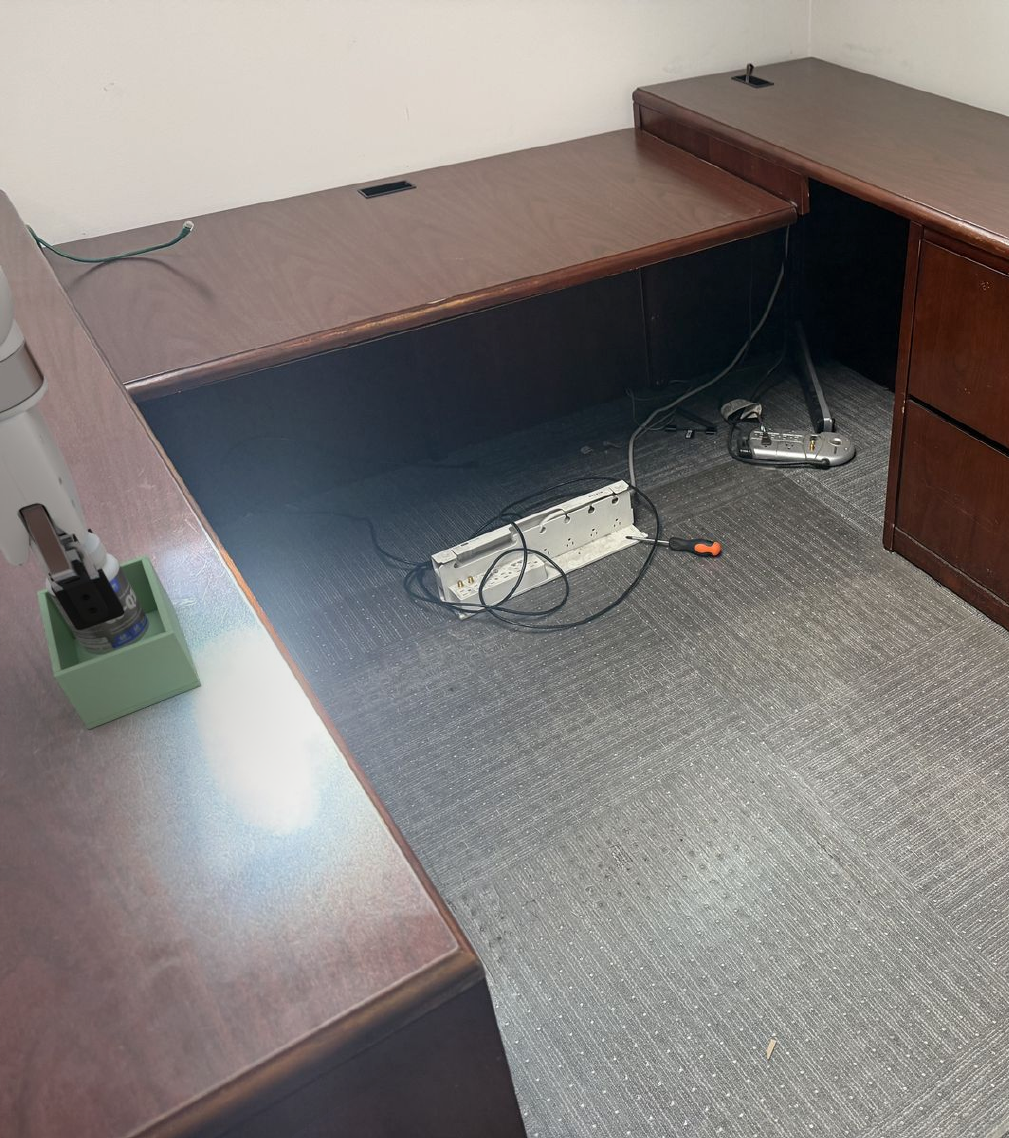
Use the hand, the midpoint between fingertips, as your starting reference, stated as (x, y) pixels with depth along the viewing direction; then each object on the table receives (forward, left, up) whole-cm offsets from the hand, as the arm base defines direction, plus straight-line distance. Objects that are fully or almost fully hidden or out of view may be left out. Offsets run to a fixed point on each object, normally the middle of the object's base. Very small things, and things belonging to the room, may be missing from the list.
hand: (94, 597), depth 76 cm
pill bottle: (0, 0, -4) cm, 4 cm away
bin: (0, 0, -7) cm, 7 cm away
